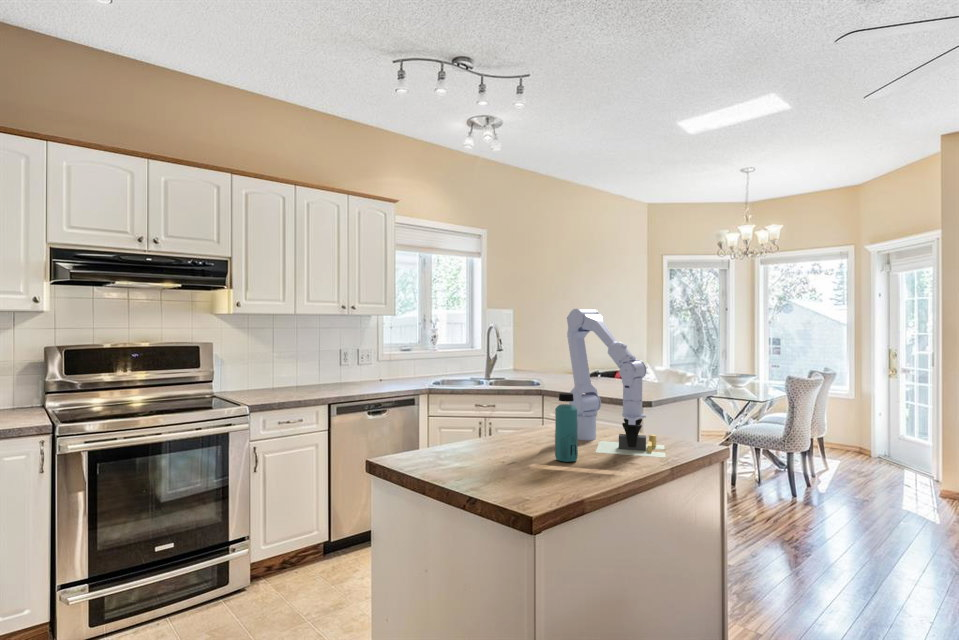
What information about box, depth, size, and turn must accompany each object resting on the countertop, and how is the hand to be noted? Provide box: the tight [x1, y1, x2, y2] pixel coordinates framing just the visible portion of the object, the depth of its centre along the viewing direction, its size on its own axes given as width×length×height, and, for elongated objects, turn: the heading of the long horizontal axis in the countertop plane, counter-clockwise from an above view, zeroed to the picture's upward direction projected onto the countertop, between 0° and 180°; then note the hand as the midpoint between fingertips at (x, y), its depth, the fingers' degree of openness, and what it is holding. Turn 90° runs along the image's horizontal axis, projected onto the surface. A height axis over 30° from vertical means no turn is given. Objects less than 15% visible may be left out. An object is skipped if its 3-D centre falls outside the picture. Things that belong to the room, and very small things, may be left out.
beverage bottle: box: [554, 392, 579, 462], centre depth 156 cm, size 6×7×20 cm
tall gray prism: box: [618, 433, 647, 451], centre depth 170 cm, size 8×4×4 cm, turn 74°
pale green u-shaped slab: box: [595, 434, 667, 459], centre depth 171 cm, size 20×16×4 cm
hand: (632, 444), depth 170 cm, fingers open, 7 cm apart
